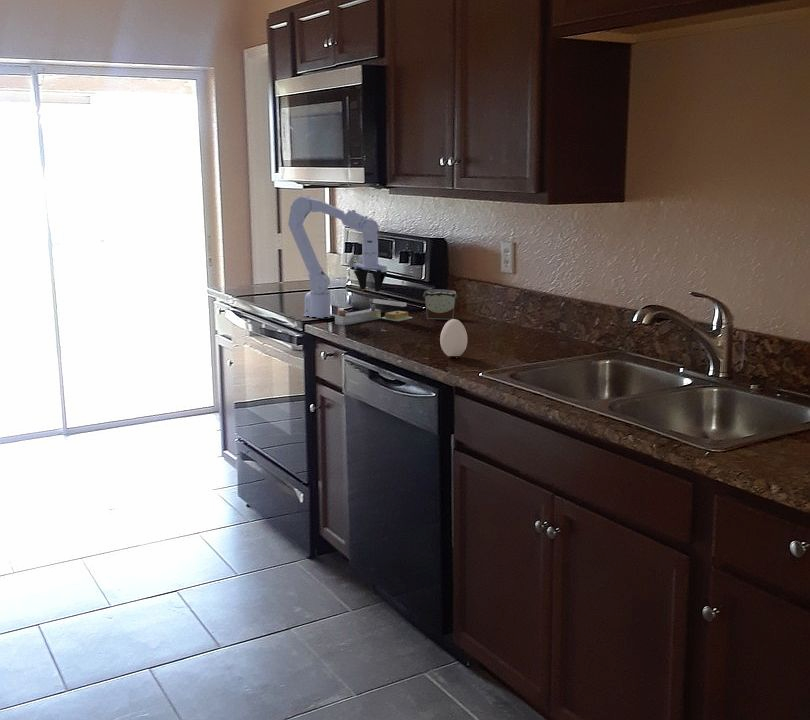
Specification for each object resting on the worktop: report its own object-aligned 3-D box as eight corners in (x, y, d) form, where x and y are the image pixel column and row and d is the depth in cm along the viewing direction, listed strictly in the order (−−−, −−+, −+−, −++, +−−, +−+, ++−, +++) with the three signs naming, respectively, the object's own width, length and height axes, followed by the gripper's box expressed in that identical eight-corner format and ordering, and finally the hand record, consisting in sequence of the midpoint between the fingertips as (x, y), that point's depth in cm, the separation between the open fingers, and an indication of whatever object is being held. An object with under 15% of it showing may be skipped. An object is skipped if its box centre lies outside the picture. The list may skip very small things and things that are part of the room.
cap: (385, 317, 328) (385, 311, 327) (398, 315, 333) (398, 309, 332) (395, 319, 324) (395, 313, 324) (408, 317, 329) (408, 311, 329)
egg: (450, 353, 270) (451, 315, 268) (472, 357, 266) (473, 318, 263) (434, 358, 264) (434, 319, 262) (456, 361, 260) (457, 322, 257)
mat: (381, 318, 328) (381, 317, 328) (396, 315, 334) (396, 314, 334) (397, 321, 323) (397, 320, 323) (412, 318, 329) (412, 317, 329)
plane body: (335, 324, 318) (334, 307, 316) (372, 317, 331) (372, 301, 330) (343, 325, 315) (342, 308, 314) (380, 318, 329) (380, 302, 327)
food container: (457, 316, 333) (458, 289, 331) (456, 319, 327) (457, 292, 325) (424, 316, 334) (424, 289, 332) (423, 318, 328) (423, 291, 326)
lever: (402, 306, 317) (402, 303, 317) (368, 302, 327) (367, 299, 327) (407, 306, 319) (407, 302, 319) (372, 301, 329) (372, 298, 329)
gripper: (392, 253, 325) (392, 290, 328) (363, 250, 335) (364, 287, 338) (378, 254, 320) (379, 293, 323) (350, 252, 329) (350, 289, 332)
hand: (370, 290), depth 330 cm, fingers open, 7 cm apart
